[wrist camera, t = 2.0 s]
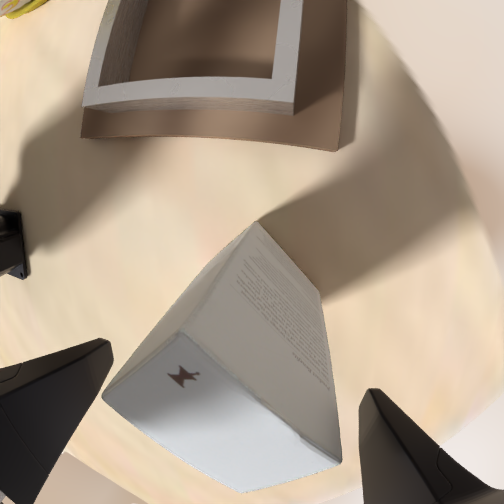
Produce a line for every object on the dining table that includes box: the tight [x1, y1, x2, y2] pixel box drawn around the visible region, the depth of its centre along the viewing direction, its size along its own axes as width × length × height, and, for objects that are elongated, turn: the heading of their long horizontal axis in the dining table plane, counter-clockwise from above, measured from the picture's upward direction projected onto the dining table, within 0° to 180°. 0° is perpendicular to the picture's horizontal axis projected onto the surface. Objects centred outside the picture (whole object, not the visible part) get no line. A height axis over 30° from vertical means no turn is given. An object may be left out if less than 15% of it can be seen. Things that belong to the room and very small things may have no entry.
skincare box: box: [102, 221, 342, 493], centre depth 12 cm, size 6×4×12 cm
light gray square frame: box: [82, 0, 304, 116], centre depth 11 cm, size 11×11×3 cm
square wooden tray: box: [81, 0, 347, 152], centre depth 13 cm, size 16×14×1 cm
